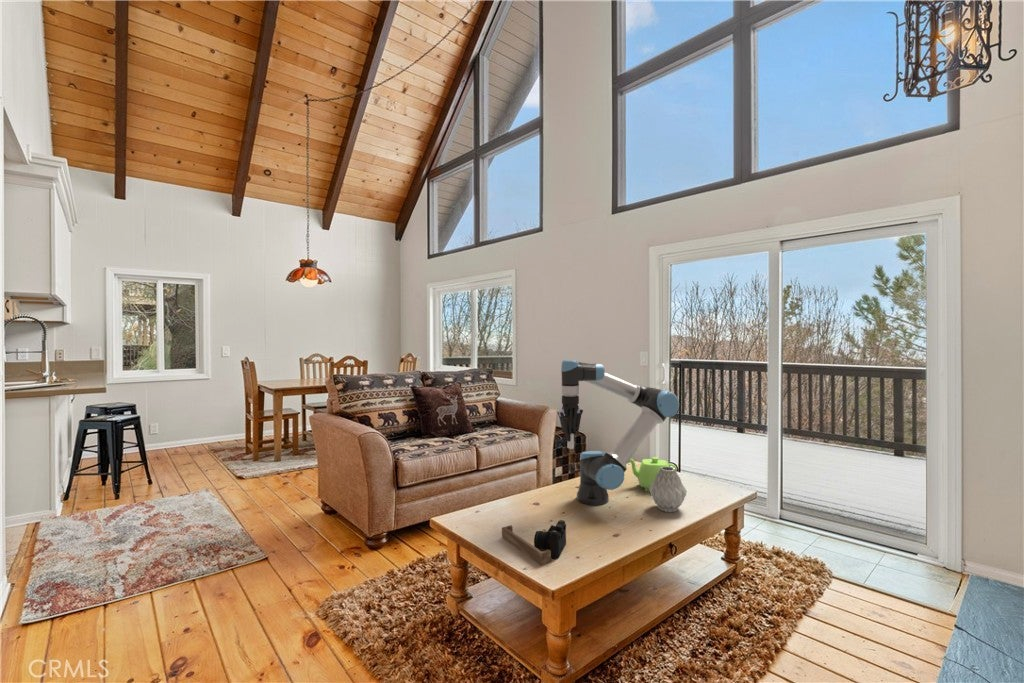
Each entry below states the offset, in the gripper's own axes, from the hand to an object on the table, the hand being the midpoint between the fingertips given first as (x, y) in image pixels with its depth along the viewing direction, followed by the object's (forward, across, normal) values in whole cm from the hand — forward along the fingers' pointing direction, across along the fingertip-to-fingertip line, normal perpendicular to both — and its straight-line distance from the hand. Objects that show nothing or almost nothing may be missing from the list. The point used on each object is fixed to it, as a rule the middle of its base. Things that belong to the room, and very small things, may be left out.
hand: (570, 448), depth 207 cm
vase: (+30, -40, +20) cm, 54 cm away
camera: (+30, +28, +21) cm, 46 cm away
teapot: (+30, -58, -5) cm, 65 cm away
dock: (+29, +36, +16) cm, 49 cm away
